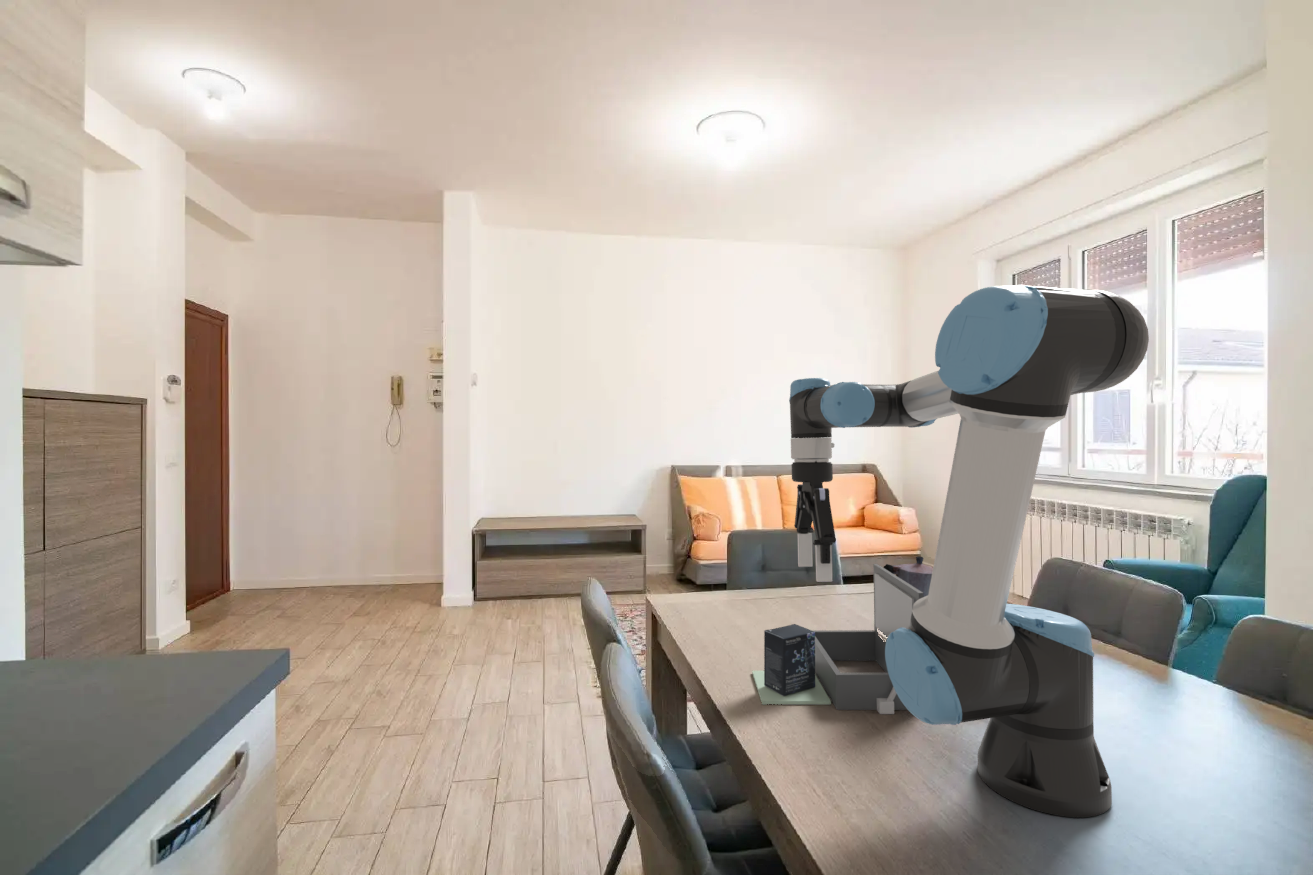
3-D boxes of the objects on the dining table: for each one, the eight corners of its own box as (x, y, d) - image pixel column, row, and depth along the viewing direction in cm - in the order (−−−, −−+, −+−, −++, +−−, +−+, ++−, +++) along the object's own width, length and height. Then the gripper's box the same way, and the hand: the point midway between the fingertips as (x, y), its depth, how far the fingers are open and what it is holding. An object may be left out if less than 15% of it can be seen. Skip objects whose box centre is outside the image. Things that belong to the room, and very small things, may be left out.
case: (934, 714, 102) (932, 595, 102) (839, 713, 102) (837, 595, 102) (882, 658, 127) (881, 563, 127) (807, 658, 128) (805, 564, 128)
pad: (830, 704, 106) (830, 701, 106) (762, 704, 106) (762, 700, 106) (813, 673, 120) (813, 670, 120) (752, 673, 120) (752, 670, 120)
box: (784, 697, 108) (783, 638, 108) (763, 686, 112) (762, 629, 112) (816, 687, 111) (815, 630, 111) (795, 677, 116) (794, 622, 116)
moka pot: (959, 653, 130) (958, 560, 130) (887, 653, 130) (885, 560, 130) (939, 638, 139) (938, 551, 139) (872, 638, 140) (871, 552, 140)
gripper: (852, 461, 102) (856, 588, 101) (814, 459, 127) (816, 560, 126) (808, 462, 102) (811, 588, 101) (778, 459, 127) (780, 561, 126)
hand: (814, 573), depth 114 cm, fingers open, 13 cm apart
